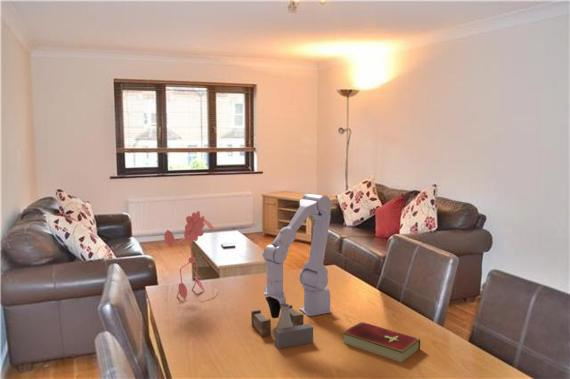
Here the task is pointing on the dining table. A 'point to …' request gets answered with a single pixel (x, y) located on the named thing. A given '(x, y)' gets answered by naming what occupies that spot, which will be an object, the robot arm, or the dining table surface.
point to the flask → (284, 317)
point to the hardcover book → (381, 341)
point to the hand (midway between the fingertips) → (275, 317)
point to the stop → (293, 336)
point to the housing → (265, 324)
